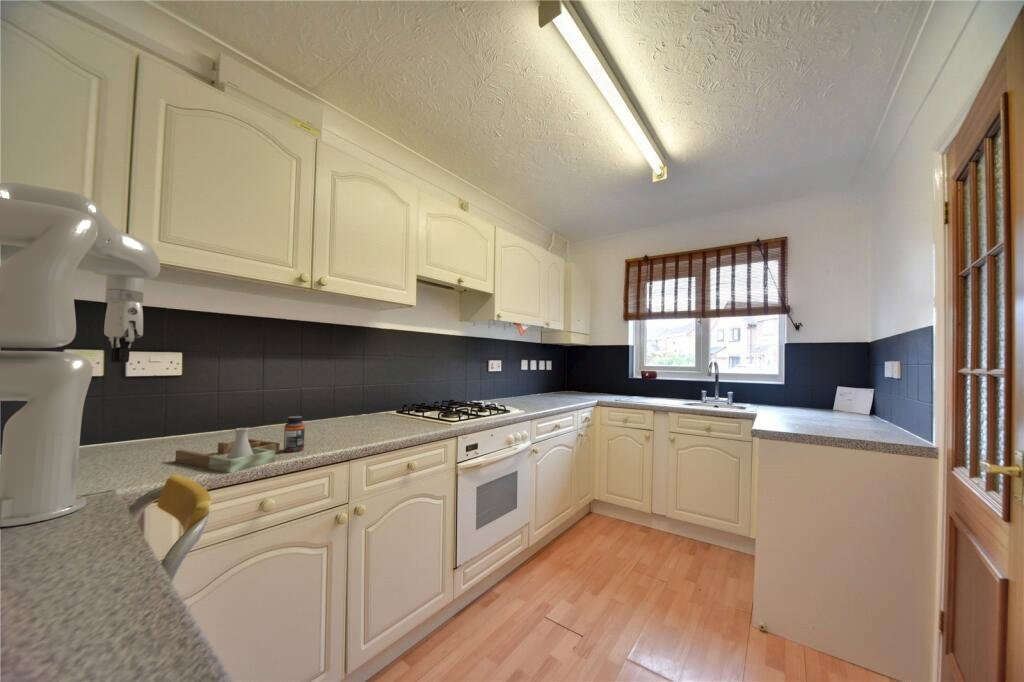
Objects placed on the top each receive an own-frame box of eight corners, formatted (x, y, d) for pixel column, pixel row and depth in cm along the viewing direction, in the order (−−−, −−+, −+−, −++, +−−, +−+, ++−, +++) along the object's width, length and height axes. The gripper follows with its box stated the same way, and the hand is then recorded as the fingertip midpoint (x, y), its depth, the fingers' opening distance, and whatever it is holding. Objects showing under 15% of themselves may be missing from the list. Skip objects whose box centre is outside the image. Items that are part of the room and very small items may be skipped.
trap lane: (230, 472, 100) (230, 460, 100) (175, 461, 109) (175, 450, 109) (296, 455, 118) (296, 445, 118) (244, 447, 127) (245, 438, 127)
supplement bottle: (290, 448, 128) (292, 415, 128) (307, 448, 128) (309, 415, 128) (279, 452, 122) (281, 417, 122) (296, 452, 122) (298, 418, 122)
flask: (241, 467, 105) (243, 431, 106) (217, 465, 106) (220, 430, 106) (260, 460, 112) (262, 427, 113) (238, 459, 113) (240, 426, 114)
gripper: (155, 299, 107) (151, 362, 106) (128, 301, 113) (123, 361, 112) (120, 294, 100) (115, 362, 99) (92, 297, 106) (87, 361, 105)
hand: (119, 362), depth 105 cm, fingers closed
